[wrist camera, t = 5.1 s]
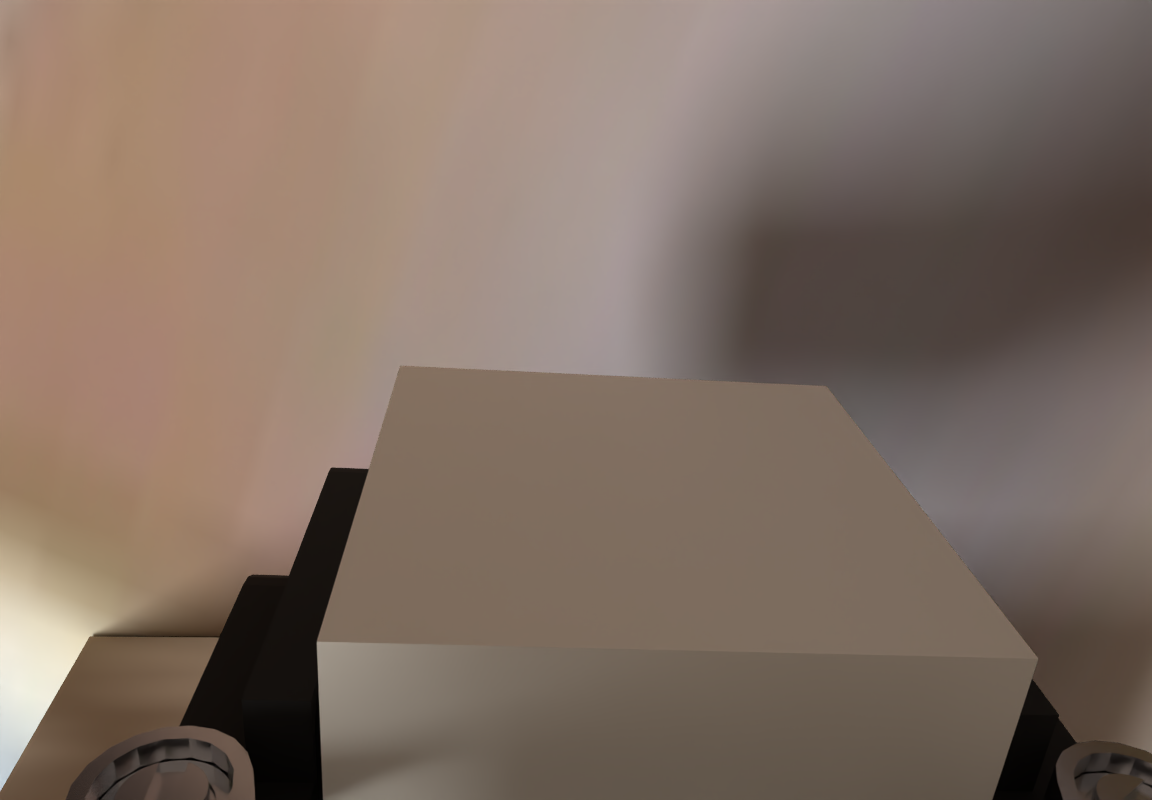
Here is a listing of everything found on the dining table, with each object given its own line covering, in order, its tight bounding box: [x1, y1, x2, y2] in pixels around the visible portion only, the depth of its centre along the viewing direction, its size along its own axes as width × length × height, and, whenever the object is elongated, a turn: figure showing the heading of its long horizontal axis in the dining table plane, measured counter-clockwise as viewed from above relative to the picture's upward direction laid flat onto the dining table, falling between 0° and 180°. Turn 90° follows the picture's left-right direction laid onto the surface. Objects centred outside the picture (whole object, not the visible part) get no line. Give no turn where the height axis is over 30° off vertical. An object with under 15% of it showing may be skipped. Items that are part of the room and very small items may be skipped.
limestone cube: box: [317, 366, 1038, 800], centre depth 10 cm, size 5×5×5 cm
